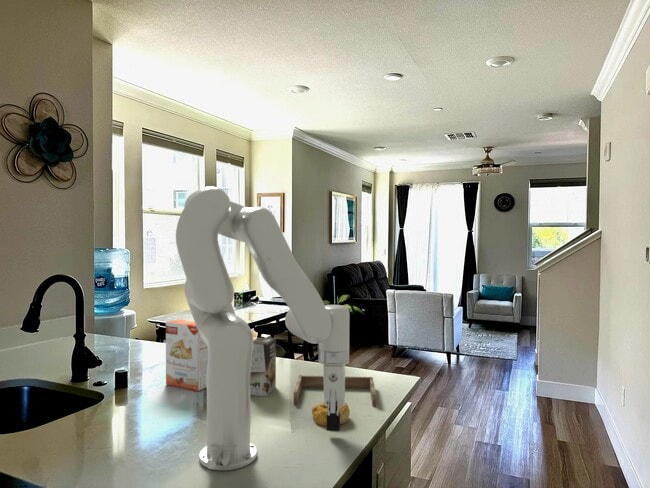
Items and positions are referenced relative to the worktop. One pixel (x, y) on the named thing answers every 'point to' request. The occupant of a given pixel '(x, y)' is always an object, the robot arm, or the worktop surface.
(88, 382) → the worktop surface
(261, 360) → the coffee box
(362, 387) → the box
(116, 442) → the worktop surface
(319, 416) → the bagel
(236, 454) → the robot arm
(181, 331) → the cracker box
